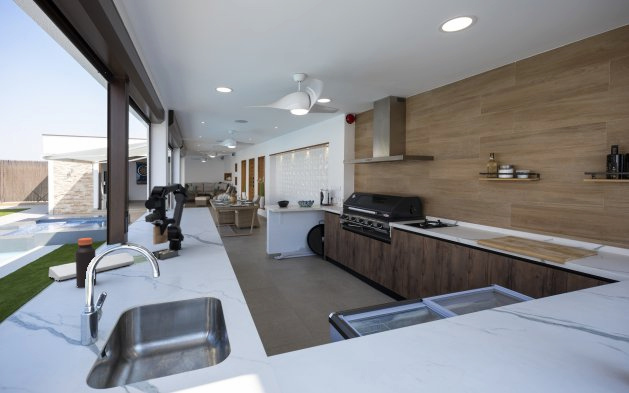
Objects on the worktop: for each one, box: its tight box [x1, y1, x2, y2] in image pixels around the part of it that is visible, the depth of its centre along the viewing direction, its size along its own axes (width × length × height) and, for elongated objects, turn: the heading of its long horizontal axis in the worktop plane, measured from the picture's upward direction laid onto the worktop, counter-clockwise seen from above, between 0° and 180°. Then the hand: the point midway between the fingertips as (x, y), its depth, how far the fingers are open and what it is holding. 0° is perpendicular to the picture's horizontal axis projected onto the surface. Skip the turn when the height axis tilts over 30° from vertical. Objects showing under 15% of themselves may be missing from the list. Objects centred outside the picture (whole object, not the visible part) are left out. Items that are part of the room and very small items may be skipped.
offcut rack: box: [151, 248, 181, 261], centre depth 182 cm, size 12×12×4 cm
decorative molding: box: [48, 252, 136, 282], centre depth 155 cm, size 34×5×10 cm
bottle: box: [75, 237, 97, 288], centre depth 134 cm, size 7×7×20 cm
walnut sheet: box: [152, 226, 169, 246], centre depth 182 cm, size 8×2×10 cm, turn 154°
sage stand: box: [131, 253, 149, 265], centre depth 171 cm, size 11×8×4 cm
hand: (160, 235), depth 182 cm, fingers closed on walnut sheet, 2 cm apart
